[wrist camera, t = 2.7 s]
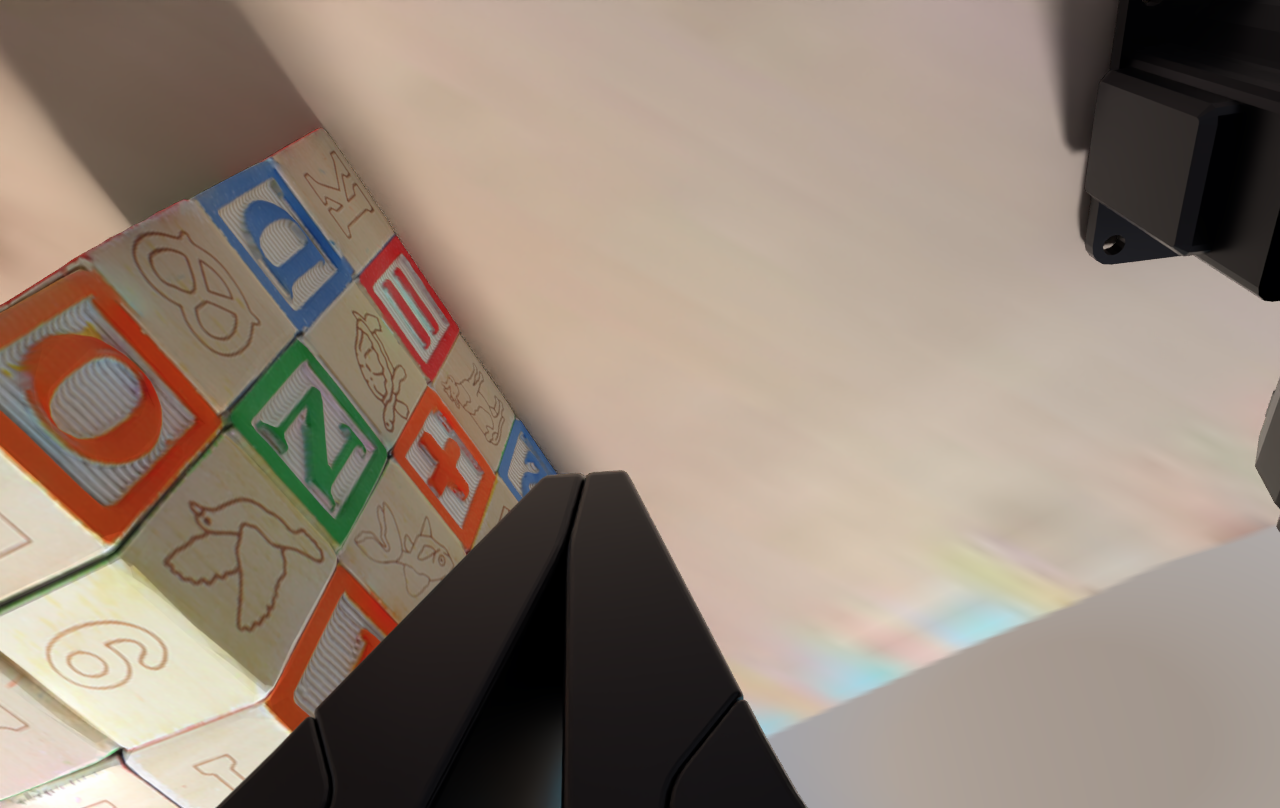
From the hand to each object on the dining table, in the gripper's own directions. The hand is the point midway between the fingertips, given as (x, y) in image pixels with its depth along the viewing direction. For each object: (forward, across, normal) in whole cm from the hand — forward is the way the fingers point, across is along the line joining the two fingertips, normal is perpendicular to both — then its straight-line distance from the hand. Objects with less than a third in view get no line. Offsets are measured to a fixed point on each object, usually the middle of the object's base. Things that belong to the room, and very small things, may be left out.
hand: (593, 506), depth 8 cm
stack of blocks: (+13, +7, +9) cm, 17 cm away
